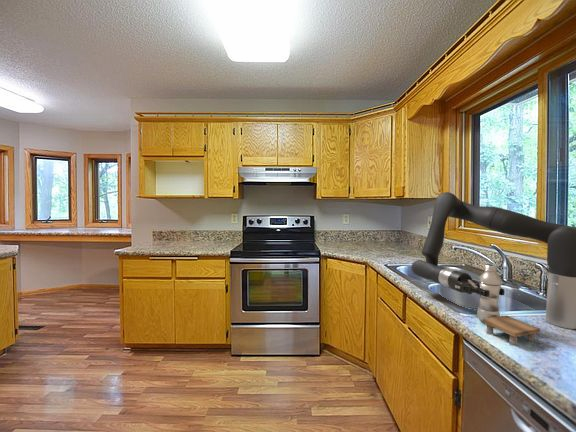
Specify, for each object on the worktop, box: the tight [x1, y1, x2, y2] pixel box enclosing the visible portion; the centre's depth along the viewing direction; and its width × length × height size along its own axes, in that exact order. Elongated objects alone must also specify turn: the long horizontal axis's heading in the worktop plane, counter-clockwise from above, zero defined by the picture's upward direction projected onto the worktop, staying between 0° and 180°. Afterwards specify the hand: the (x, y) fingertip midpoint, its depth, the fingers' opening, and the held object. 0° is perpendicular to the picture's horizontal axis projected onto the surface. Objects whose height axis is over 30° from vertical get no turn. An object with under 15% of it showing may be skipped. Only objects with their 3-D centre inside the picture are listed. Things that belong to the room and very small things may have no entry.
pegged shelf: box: [482, 315, 541, 347], centre depth 90 cm, size 10×10×4 cm
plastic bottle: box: [476, 263, 503, 323], centre depth 100 cm, size 6×7×20 cm
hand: (496, 293), depth 97 cm, fingers closed on plastic bottle, 6 cm apart
